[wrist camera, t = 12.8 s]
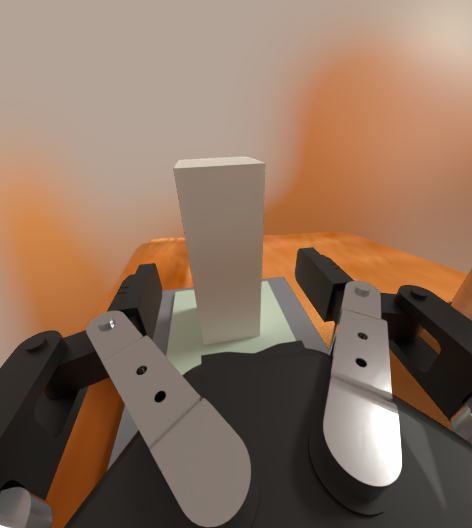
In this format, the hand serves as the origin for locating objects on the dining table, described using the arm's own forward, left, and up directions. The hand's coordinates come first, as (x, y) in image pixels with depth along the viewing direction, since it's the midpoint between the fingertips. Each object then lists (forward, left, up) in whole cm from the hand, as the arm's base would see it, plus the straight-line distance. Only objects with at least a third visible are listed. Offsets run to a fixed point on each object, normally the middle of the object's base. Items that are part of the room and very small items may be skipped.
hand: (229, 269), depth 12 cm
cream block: (-4, -3, -9) cm, 10 cm away
